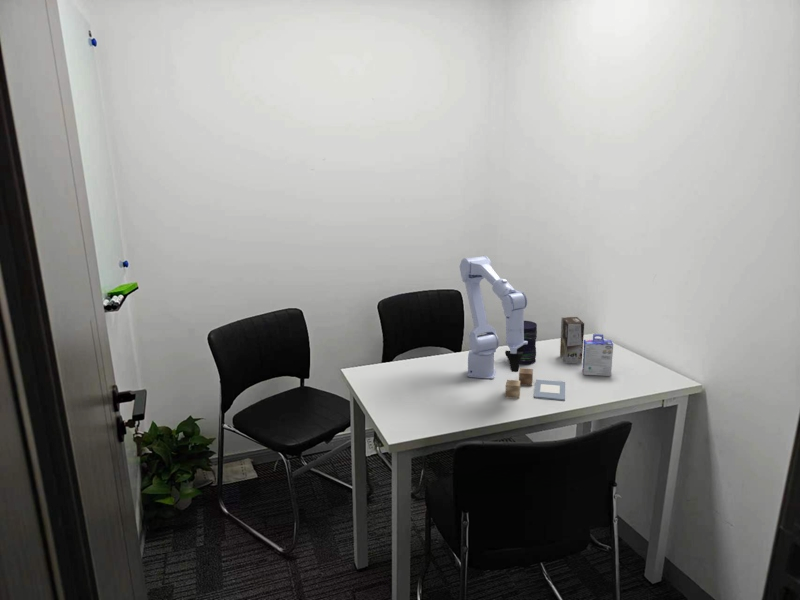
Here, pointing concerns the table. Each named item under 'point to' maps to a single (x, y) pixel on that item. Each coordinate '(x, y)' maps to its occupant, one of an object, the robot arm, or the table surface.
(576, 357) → the coffee box
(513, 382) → the oak cube
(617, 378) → the table surface
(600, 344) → the ink cartridge box
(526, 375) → the walnut cube
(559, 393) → the board
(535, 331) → the storage jar
